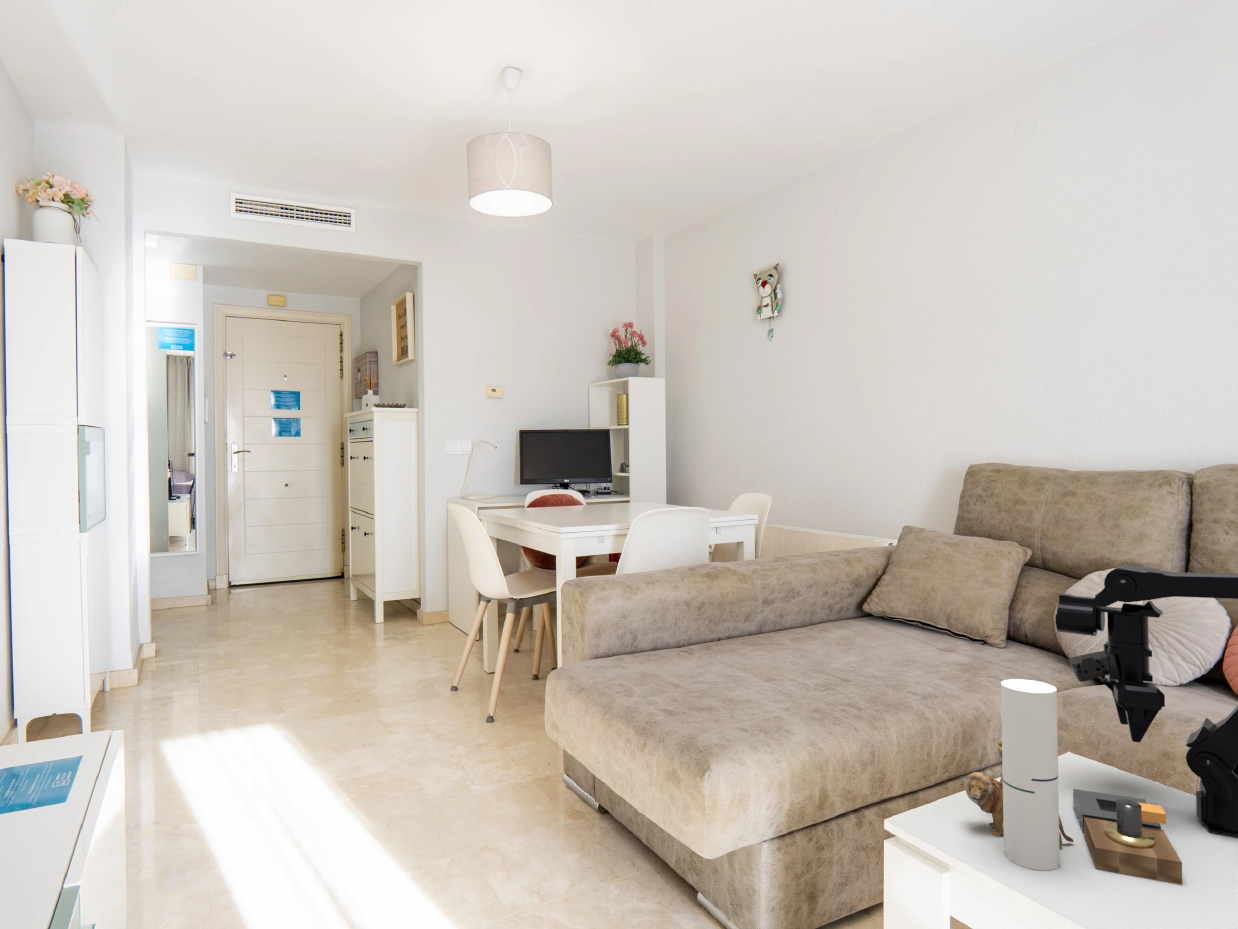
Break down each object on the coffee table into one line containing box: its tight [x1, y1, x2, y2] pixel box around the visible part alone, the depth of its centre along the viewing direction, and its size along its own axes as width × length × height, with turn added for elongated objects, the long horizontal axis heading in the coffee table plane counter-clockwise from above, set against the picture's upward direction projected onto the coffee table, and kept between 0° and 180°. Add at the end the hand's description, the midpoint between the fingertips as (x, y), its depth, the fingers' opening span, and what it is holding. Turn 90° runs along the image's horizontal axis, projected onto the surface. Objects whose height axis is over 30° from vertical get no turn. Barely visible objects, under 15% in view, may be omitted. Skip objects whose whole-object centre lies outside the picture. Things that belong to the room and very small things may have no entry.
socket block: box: [1072, 788, 1162, 835], centre depth 116 cm, size 10×10×3 cm
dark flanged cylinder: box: [1105, 799, 1155, 848], centre depth 106 cm, size 6×6×8 cm
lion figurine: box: [965, 771, 1074, 849], centre depth 113 cm, size 15×5×9 cm, turn 68°
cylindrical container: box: [1000, 678, 1061, 871], centre depth 107 cm, size 7×7×25 cm
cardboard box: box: [1137, 802, 1167, 825], centre depth 110 cm, size 3×3×2 cm
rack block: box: [1083, 817, 1183, 885], centre depth 106 cm, size 10×10×3 cm
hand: (1129, 732), depth 124 cm, fingers open, 9 cm apart
